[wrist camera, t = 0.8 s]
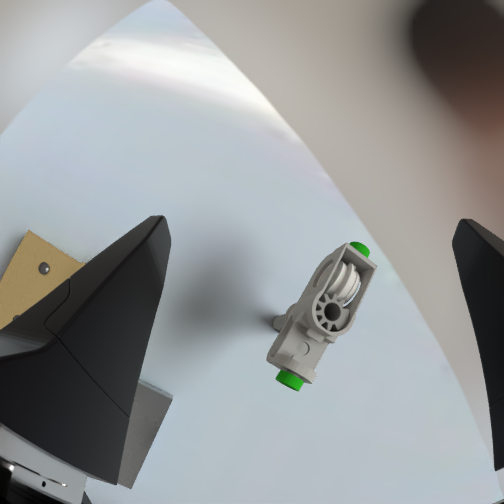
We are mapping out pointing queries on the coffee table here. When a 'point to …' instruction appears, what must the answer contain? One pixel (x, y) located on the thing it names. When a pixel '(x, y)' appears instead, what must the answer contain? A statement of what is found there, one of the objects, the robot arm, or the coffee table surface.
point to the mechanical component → (320, 314)
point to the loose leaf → (32, 276)
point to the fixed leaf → (142, 429)
